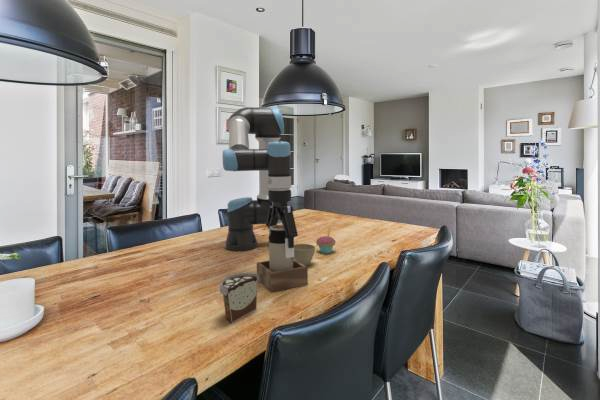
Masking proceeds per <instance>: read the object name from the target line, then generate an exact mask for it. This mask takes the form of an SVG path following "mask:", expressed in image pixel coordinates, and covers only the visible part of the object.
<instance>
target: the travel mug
mask: <svg viewBox="0 0 600 400" xmlns="http://www.w3.org/2000/svg"><path fill="white" fill-rule="evenodd" d="M269 229H270V232H271V233H270V235H269V234H268V257H269V258H268V261H269V269H270V271H272V272H277V271H283V270H288V269H293V257H291V258H286V254H285V236H286V233H285V230H284V227H283V224H277V225H273V226H270V227H269ZM269 229H268V230H269Z"/></svg>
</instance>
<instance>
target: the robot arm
mask: <svg viewBox="0 0 600 400" xmlns="http://www.w3.org/2000/svg"><path fill="white" fill-rule="evenodd" d="M226 129H227V131H228V135H229V137H228V149H227V148H225V149H224V150H223V151H222V166H223V167H222V168H223V170H224V171H225V172H246V171H247V172H249V171H250V172H251V171H253V172H254V171H255V172H256V171H257V172H258V171H259V172H258V173H259V193H258V194H257V196H256V199H254V200H253V198H252V197H250V196H247V197H239V198H235V199H232V200H230V201H228V203H227V210H226V212H227V225H228V228H227V229H228V233H227V236H226V239H225V243H224V245H225V246H224V248H225V249H226V250H229V251H233V252H234V251H235V252H236V251H238V252H239V251H241V252H243V251H250V250H253V249H256V248H257V247H258V241H257V236H256V234H255V232H254V225H255V226H256V225H265V227H267V230H268V236H269V235H270V233H271V232H270V229H269V227H270V226H273V225H278V224H280V223H281V225H283V227H284V230H285V233H286V236H285V254H286V258H291V257H294V245H295V238H296V237H298V236H299V235H298V230H297V225H296V222H295V217H294V211H293V206H292V205H288V202H291V201H292V191H291V188H292V174H291V172H292V171H291V168H292V167H291V162H292V161H291V156H292V155H291V153H292V151H291V144H290V142H288V141H280V140H281V137H282V136H281V135H284V134H285V123H284V118H283V113H282V111H281V109H280V108H278V107H271V106H269V107H261V106H259V107H257V106H255V107H252V106H251V107H250V106H247V107H243V108H239V109H238V110H235V111H234V112H233V113H232V114H231V115H230V116H229V117H228V119H227V122H226ZM249 135H255V136H254V139H255V140H256V141H258V148H250V141H249Z"/></svg>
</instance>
